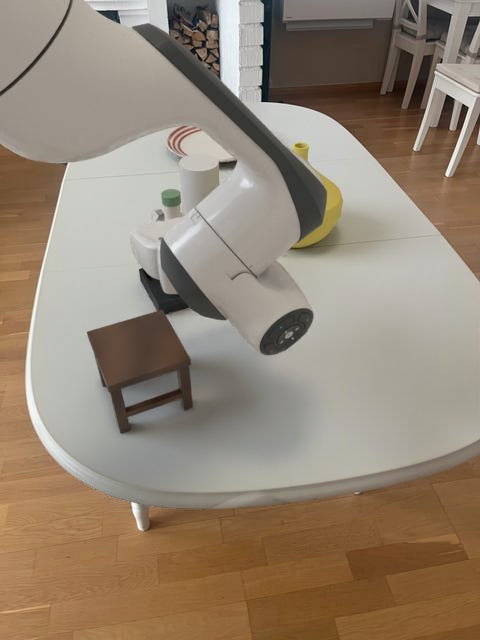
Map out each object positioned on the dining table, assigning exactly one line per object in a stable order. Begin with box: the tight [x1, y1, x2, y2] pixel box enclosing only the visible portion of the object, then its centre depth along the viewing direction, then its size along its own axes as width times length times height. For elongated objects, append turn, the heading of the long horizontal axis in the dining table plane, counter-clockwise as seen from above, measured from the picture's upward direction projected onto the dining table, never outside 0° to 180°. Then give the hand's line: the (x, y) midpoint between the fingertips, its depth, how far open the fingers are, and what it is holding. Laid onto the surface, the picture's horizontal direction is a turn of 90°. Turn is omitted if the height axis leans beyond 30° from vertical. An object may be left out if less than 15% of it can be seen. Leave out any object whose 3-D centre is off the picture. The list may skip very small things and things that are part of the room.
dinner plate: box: [164, 126, 237, 163], centre depth 139 cm, size 28×27×3 cm
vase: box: [290, 141, 344, 249], centre depth 102 cm, size 18×18×19 cm
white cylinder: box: [178, 154, 220, 215], centre depth 110 cm, size 8×8×12 cm
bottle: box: [160, 188, 185, 220], centre depth 87 cm, size 6×6×18 cm
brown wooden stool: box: [86, 310, 194, 434], centre depth 73 cm, size 11×11×10 cm
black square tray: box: [138, 267, 190, 315], centre depth 93 cm, size 11×11×3 cm
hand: (187, 207), depth 75 cm, fingers open, 8 cm apart
